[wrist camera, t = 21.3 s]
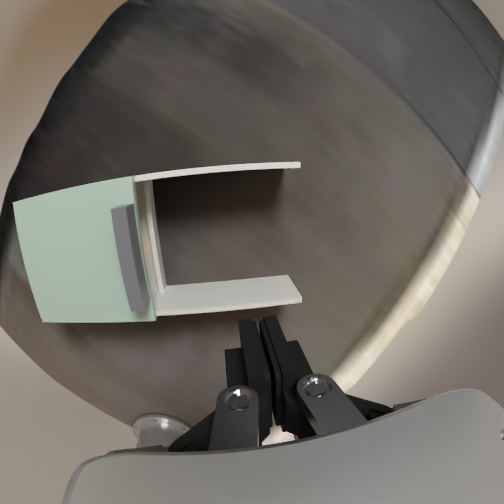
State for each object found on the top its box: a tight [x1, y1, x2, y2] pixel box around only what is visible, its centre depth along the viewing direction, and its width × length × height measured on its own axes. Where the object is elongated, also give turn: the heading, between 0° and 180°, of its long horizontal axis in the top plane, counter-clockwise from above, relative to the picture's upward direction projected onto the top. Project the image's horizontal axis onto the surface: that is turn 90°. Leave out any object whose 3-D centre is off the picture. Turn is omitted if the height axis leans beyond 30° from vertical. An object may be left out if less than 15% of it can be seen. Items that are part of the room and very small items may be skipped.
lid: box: [13, 176, 157, 323], centre depth 24 cm, size 15×16×3 cm
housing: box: [134, 162, 302, 316], centre depth 30 cm, size 15×32×7 cm, turn 93°
